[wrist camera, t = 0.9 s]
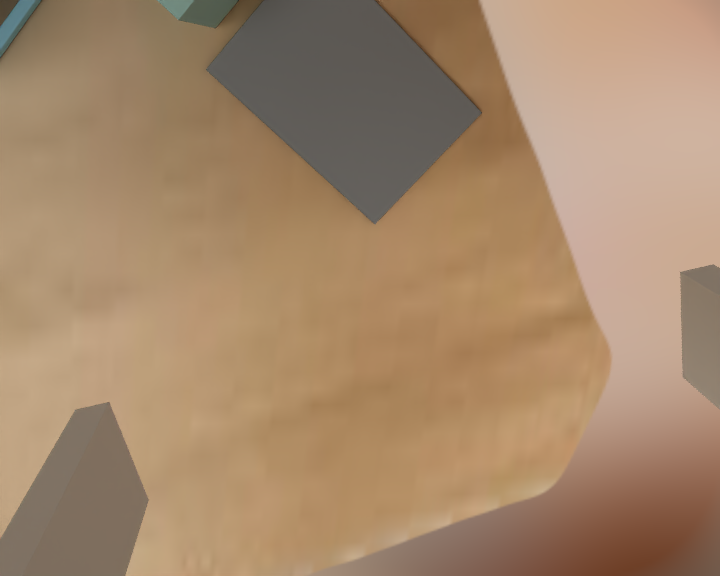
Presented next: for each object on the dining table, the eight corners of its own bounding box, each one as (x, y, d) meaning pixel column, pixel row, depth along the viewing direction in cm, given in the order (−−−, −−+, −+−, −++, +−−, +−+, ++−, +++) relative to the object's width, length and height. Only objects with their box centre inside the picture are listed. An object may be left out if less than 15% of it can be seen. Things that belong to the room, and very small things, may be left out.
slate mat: (206, 69, 37) (205, 69, 36) (315, -62, 35) (315, -62, 35) (374, 223, 40) (374, 224, 40) (480, 112, 39) (481, 112, 38)
